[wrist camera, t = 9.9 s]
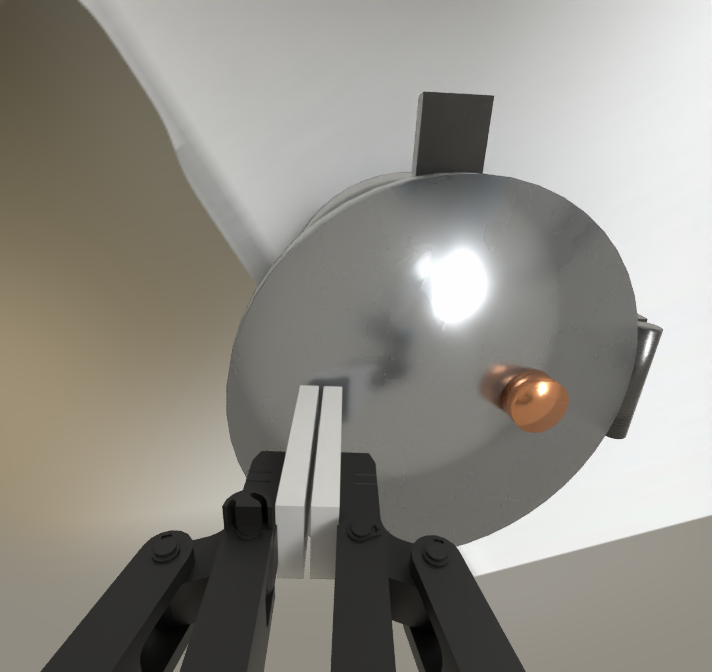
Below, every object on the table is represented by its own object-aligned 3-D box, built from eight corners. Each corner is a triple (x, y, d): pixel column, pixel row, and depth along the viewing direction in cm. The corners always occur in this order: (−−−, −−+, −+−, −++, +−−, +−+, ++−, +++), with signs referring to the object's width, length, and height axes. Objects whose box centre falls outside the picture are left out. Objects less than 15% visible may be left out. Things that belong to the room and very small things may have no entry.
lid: (210, 160, 15) (201, 161, 13) (691, 182, 19) (749, 186, 17) (240, 556, 22) (238, 601, 20) (583, 512, 26) (613, 546, 24)
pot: (283, 108, 28) (240, 78, 17) (580, 124, 29) (723, 106, 18) (288, 427, 38) (262, 540, 27) (510, 435, 39) (575, 549, 27)
